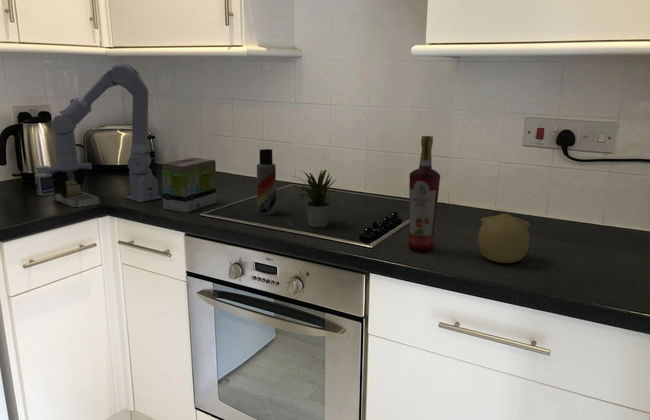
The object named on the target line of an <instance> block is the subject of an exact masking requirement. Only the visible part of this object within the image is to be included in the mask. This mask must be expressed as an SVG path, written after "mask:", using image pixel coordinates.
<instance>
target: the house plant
mask: <svg viewBox="0 0 650 420" xmlns="http://www.w3.org/2000/svg"><path fill="white" fill-rule="evenodd" d="M327 171H328V170H327V169H324V170H323V169H321V171H320V172H319V175H318V178H317V180H316V177H315V176H314V175H313V174H312V173H311V172H309V174H308V173H307V172H304V171H303V170H301V172H302V173H303V174H305V176H306V177H307V178H306V179H305V180H304V179H303V178H301V177H299V176H297V178H298V179H295V180H297V181H302V182H303V184H305V185H300V186H294V187H293V188H294V189H299V190H300V191H299V190H298V192H299V193H300V194H298V196H297V197H300V198H299V199H301V198H303V197H308V199H309V200H310V201H307V202H306V203H305V209H306V215H307V220H308V221H307V222H308V226H309V227H312V228H325V227H327V226H328V220H329V215H330V207H331V203H330V202H329V201H326V200H329V199H330V197H328V195H330V194H332V193H333V192H335V190H333V191H331V192H329V193H328V192H327V191H328V190H329V188H330V187H331V186H332V185H333V184H334V183H335V181H337V179H338V178H336V179H335V180H333V181H332V178H333V175H331V176H330V172H329V173H328V174H327V176H326V173H327ZM325 176H326V178H325ZM291 177H294V178H295V176H291ZM329 177H330V178H329ZM324 179H325V181H324ZM331 181H332V182H331ZM306 186H307V187H306ZM309 187H310V188H309ZM302 192H306V193H302ZM327 193H328V194H327ZM326 194H327V195H326Z"/></svg>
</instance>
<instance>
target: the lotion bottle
mask: <svg viewBox="0 0 650 420" xmlns="http://www.w3.org/2000/svg"><path fill="white" fill-rule="evenodd" d="M273 158H274V157H273V149H272V148H267V149H264V148H262V149H259V163H257V164H256V189H257V190H256V191H257V194H256V195H257V197H256V198H257V214H259V215H262V216H272V215H275V214H276V213H277V187H276V186H277V181H276V180H277V176H276V175H277V173H276V171H277V170H276V164H275V163H273Z"/></svg>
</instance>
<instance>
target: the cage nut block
mask: <svg viewBox="0 0 650 420" xmlns="http://www.w3.org/2000/svg"><path fill="white" fill-rule="evenodd" d="M65 185H66V195H63V194H62V196H65V197H71V196H77V195H81V191H82V190H81V187H80V184H77V181H75V180H73V179H72V180H65Z"/></svg>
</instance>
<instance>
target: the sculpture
mask: <svg viewBox="0 0 650 420" xmlns="http://www.w3.org/2000/svg"><path fill="white" fill-rule="evenodd" d="M480 223H481V226H480V228H479V229H478V230H479V231H478V235H477V245H478V249H479V252H480V254H481V256H483V257H484V258H485V259H488V260H490V261H492V262H495V263H501V264H511V263H516V262H519V261H521V260H523V258H524V257H525V256H526V254H527V252H528V251H529V250H528V249H529V247H530V232H529V229H528V228H529V227H530V226H531V224H530V222H529V221H526V220H524V219H521V218H519V217H514V216H512V215H511V214H509V213H501V214H498V215H491V216H487V217H482V218H480Z"/></svg>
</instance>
